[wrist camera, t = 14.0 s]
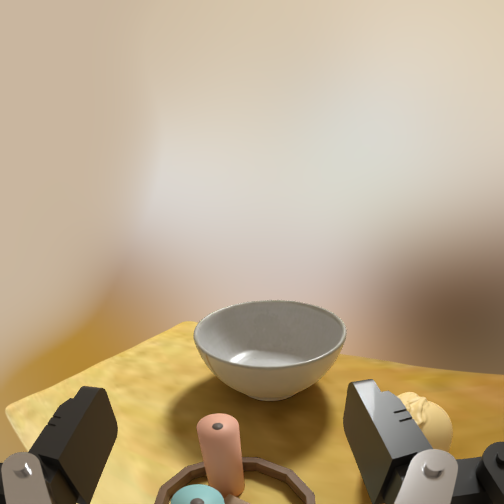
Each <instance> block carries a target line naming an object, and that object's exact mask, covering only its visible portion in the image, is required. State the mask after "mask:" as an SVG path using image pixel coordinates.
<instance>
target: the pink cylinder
mask: <svg viewBox="0 0 504 504" xmlns="http://www.w3.org/2000/svg"><path fill="white" fill-rule="evenodd" d="M197 433H198V438H199V443H200V447H201V452H202V457H203V461H204V466H205V470H206V474H207V479H208V483H209V486H210V487H212V488H214V489H216V490H217V491H219V492H220V493H221V495H222V497H223V499H225V498H226V497H227V496H228V495H229V494H231V495H233V496H235V497H237V496H239V495H240V494H241V493H242V492H243V490H244V487H245V484H244V474H243V464H242V454H241V443H240V433H239V424H238V421H237V420H236V419H235V418H234V417H232V416H230V415H227V414H221V413H217V414H211V415H207V416H205V417H203V418H202V419H201V420H200V421H199V422H198V424H197Z"/></svg>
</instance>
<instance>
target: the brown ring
mask: <svg viewBox="0 0 504 504" xmlns="http://www.w3.org/2000/svg"><path fill="white" fill-rule="evenodd" d="M242 464H243V471H258V472H261V473H263V474H266V475H268V476H271V477H273V478H276V479H278V480H281V481H284V482H286V483H287V484H288V485H289V486H290V487H291V489H292V490H293V491H294V492H295V493H296V494H297V495H298V496H299V498H300V499H301V500H302V501H303V502H304V503H305V504H315V495H314V493H313V492H312V491H311V490H310V489H309V488H308V487H307V486H306V484H305V483H304V482H303V481H302V480H301V479H300V478H299V477H298V476H297V475H296V474H295V473H294V472H293V471H291V469H288V468H285V467H282V466H280V465H277V464H274V463H272V462H269V461H267V460H264V459H261V458H258V457H242ZM205 475H207V474H206V470H205V466H204V462H200V463H197V464H193V465H190V466H187V467H185V468H184V469H182V470H181V471H180V472H179V473H177V474H176V475H175V476H174V477H172V478H171V479H170V480H169V481H167V482H166V483H165V484H164V485H162V486H161V488H160V489H159V492H158V495H157V498H156V501H155V503H154V504H169V500H170V498H171V497H172V496H173V495H174V494H175V493H176V492H177V491H178V490H180V489H181V488H183V487H184V486H185V485H186V484H188V483H189V482H190V481H191V480H192V479H195V478H198V477H202V476H205ZM224 503H225V504H250V503H248V502H245V501H243V500H241V499H239V498H237V497H235V496H233V495H231V494H229V495H228V496H227V497H226V498H225V499H224Z"/></svg>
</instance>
